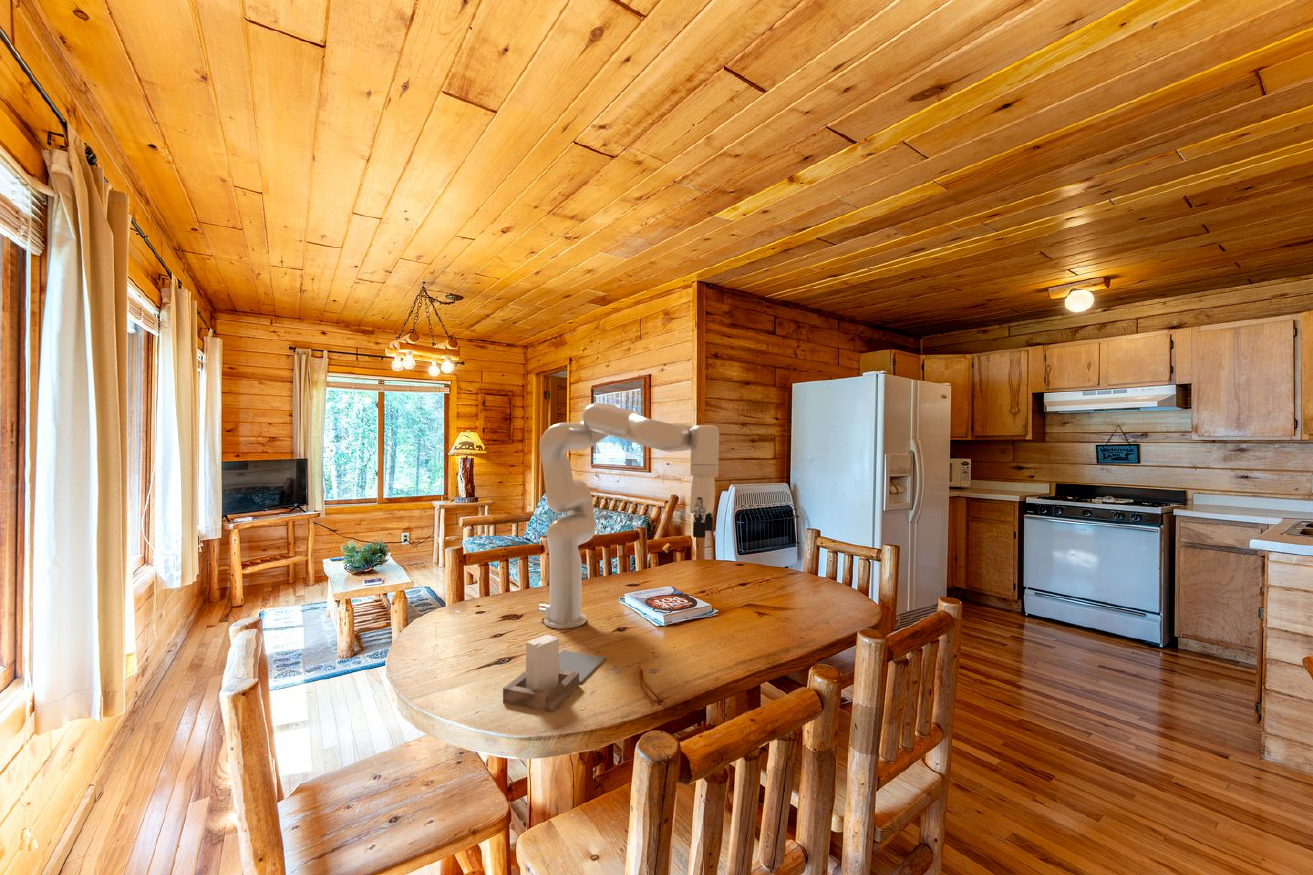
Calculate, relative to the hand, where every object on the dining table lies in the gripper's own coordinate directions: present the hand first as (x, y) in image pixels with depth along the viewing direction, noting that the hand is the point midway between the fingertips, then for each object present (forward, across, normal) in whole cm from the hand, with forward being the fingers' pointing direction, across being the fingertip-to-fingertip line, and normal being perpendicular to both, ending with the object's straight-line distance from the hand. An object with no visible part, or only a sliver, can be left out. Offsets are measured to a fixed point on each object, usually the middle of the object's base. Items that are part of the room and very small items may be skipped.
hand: (703, 533), depth 146 cm
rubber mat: (+31, +24, -27) cm, 47 cm away
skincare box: (+31, +38, -27) cm, 56 cm away
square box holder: (+31, +38, -27) cm, 56 cm away
